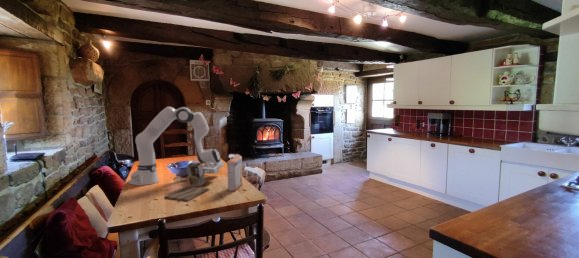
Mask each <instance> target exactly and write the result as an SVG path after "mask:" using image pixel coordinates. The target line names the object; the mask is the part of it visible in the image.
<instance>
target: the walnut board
mask: <svg viewBox="0 0 579 258" xmlns="http://www.w3.org/2000/svg"><path fill="white" fill-rule="evenodd" d="M209 191H210V188H207V187H206V188H205V187H200V186H191V185H187V186H184V187H182V188H180V189H178V190H176V191H173V192H172V193H169V194H167V195H164V199H165V200H166V199H168V200H174V201H183V202H190V201H191V200H192V201H193V200H195V199H196V198H198V197H199V196H201V195H203V194H205V193H206V192H209Z"/></svg>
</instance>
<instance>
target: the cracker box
mask: <svg viewBox="0 0 579 258" xmlns="http://www.w3.org/2000/svg"><path fill="white" fill-rule="evenodd" d="M242 165H243V164H242V157H238V156H237V157H233V158H232V159H229V160H228V161H227V162H226V166H227V169H226V170H227V189H228V190H227V191H228V192H231V191H232V192H237V190H238V189H239V188H240V187H242V185H243V171H242V170H243V166H242Z"/></svg>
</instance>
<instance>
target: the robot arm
mask: <svg viewBox="0 0 579 258" xmlns="http://www.w3.org/2000/svg"><path fill="white" fill-rule="evenodd" d="M175 120H177V121H178V122H180V123H191V125H192V128H193V131H194V134H193V136H192V137H193V144H194V147H195V150H196V159H197V160H198V163H202V167H203V174H204V175H205V174H207V175H211V174H212V175H214V174H218V173H219V171H220V169H222V168H223V166H224V162H223V160H222V158H221V153H220V151H219V150H218V149H216V148H212V149H211V148H210V149H207V150H204V148H203V143H202V139H203V138H204V137H206V136H207V135H208V134H209V131H210V127H209V125H208V122H207V119H206V118H205V116H204V115H203V113H202V112H200V111H195V112H193V111H191V109H190V108H189V107H187V106H181V107H178V108H175V107H172V106H166V107H165V108H164V109H162V110H161V111H159V113H158V114H157V115H156V116H155V117H154V118H153V119H152V120H151V121H150V122H149V124H148V125H147V126H146V127H145V129H144V130H143V131H141V132H140V133H138V134H137V135H136V136H135V140H134V141H135V144H136V150H137V154H138V164H137V165H136V168H137V169H136V170H135V171H134V172H132V173H131V175H130V179H129V180H127V181H126V183H127V184H131V185H134V186H138V187H139V186H146V185H152V184H153V185H154V184H156V183H159V181H160V180H159V177H158V172H157V171H158V170H157V163H156V153H155V148H154V142H156V140H158V138H160V136H161V134H163V132H164V131H166V129H167V128H168V127H169V126H170V125H171V123H173V122H174V121H175Z"/></svg>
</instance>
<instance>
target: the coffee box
mask: <svg viewBox="0 0 579 258" xmlns="http://www.w3.org/2000/svg"><path fill="white" fill-rule="evenodd" d="M202 166H203V164H202V163H200V162H190V163H188V165H186V170H187V174H188V175H187V176H188V179H189V184H190V185H189V186H191V187H203V185H204V184H205V183H206V180H205V179H206V177H205V174H203V167H202Z"/></svg>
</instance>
